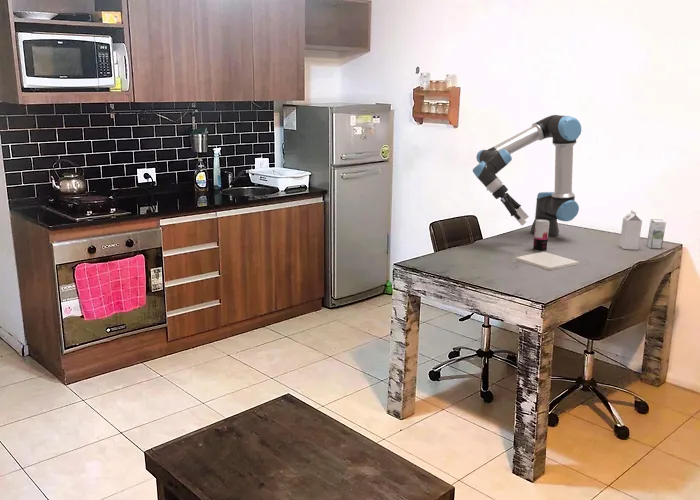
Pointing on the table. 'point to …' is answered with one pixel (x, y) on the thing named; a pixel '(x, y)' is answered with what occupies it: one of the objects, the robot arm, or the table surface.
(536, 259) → the ceramic tile
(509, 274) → the table surface
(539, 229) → the beverage can
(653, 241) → the syrup box
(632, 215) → the milk carton
